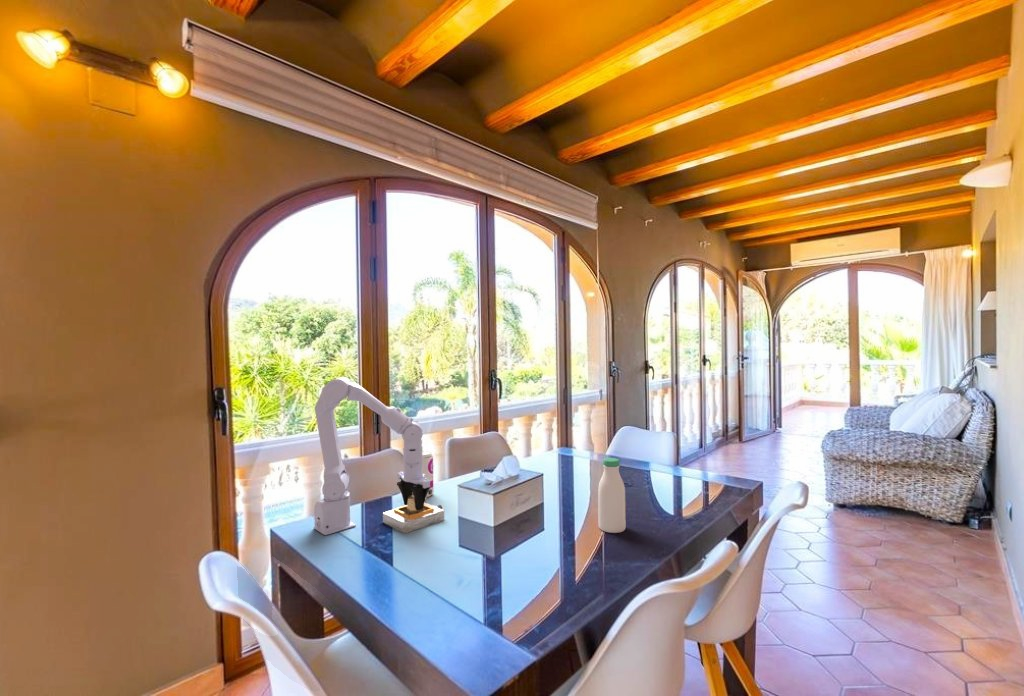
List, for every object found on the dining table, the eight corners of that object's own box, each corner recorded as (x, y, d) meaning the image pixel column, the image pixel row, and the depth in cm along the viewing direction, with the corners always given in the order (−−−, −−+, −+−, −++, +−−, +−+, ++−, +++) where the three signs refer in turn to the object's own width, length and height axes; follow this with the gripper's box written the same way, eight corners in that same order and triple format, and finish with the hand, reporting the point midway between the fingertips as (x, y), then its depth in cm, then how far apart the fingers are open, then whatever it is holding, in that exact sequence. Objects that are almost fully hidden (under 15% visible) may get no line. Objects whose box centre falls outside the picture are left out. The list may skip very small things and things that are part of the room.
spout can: (411, 524, 138) (413, 497, 138) (403, 520, 141) (405, 493, 142) (428, 520, 143) (430, 494, 143) (419, 516, 146) (421, 490, 146)
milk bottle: (626, 534, 130) (625, 463, 130) (598, 532, 131) (597, 462, 131) (625, 524, 137) (624, 456, 137) (598, 522, 139) (597, 455, 139)
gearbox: (404, 533, 132) (404, 520, 132) (382, 522, 141) (382, 510, 141) (452, 517, 144) (452, 505, 144) (429, 508, 153) (429, 496, 153)
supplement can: (436, 491, 170) (435, 450, 170) (429, 499, 162) (429, 456, 162) (414, 491, 171) (413, 450, 171) (407, 498, 162) (406, 455, 162)
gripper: (438, 463, 139) (438, 508, 139) (410, 455, 149) (411, 498, 149) (418, 468, 134) (418, 515, 134) (391, 460, 144) (392, 503, 144)
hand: (413, 506), depth 141 cm, fingers open, 6 cm apart
